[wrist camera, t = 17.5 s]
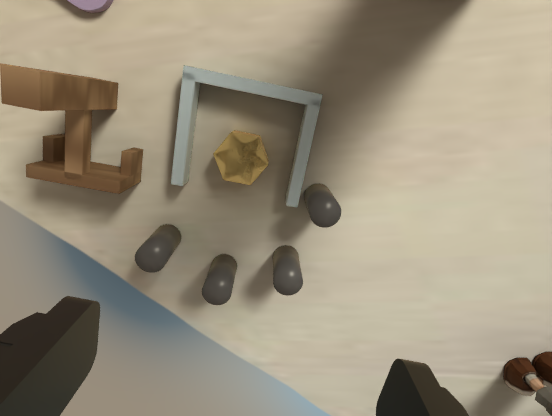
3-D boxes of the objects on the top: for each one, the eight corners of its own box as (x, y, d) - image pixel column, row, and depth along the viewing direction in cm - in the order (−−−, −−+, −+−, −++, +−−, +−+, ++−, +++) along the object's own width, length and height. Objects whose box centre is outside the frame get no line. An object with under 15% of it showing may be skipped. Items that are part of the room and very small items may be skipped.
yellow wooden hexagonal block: (221, 127, 36) (216, 129, 33) (272, 138, 36) (272, 140, 33) (214, 171, 37) (209, 177, 34) (264, 181, 37) (263, 187, 35)
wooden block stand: (61, 71, 34) (-47, 54, 22) (147, 89, 34) (85, 80, 23) (61, 167, 37) (-36, 194, 25) (140, 181, 37) (81, 215, 26)
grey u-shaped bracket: (189, 68, 34) (183, 65, 31) (319, 95, 35) (322, 94, 32) (177, 178, 37) (170, 184, 35) (295, 201, 38) (297, 207, 36)
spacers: (163, 153, 36) (142, 162, 30) (333, 186, 37) (344, 200, 32) (152, 264, 40) (132, 291, 34) (307, 291, 41) (312, 320, 36)
